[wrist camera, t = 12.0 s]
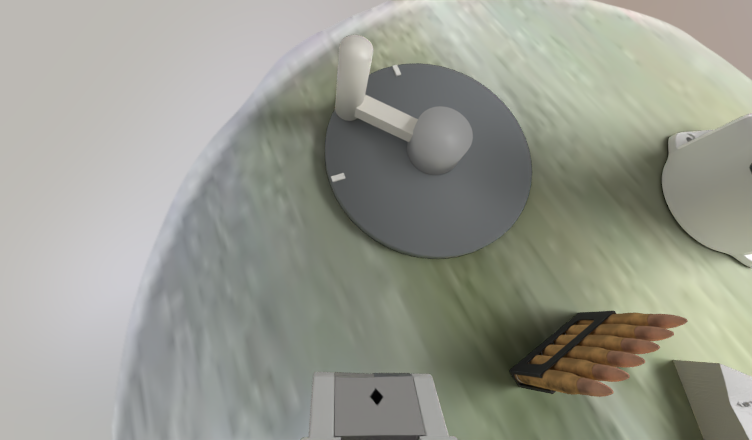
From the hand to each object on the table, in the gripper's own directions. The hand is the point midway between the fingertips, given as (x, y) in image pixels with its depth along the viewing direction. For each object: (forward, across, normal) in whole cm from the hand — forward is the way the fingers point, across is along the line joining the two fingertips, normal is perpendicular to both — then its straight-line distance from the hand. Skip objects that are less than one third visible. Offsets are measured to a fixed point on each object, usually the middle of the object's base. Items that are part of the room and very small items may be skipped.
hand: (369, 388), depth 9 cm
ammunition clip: (+19, -23, +18) cm, 35 cm away
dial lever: (+34, -6, +1) cm, 34 cm away
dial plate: (+34, -10, +4) cm, 35 cm away
